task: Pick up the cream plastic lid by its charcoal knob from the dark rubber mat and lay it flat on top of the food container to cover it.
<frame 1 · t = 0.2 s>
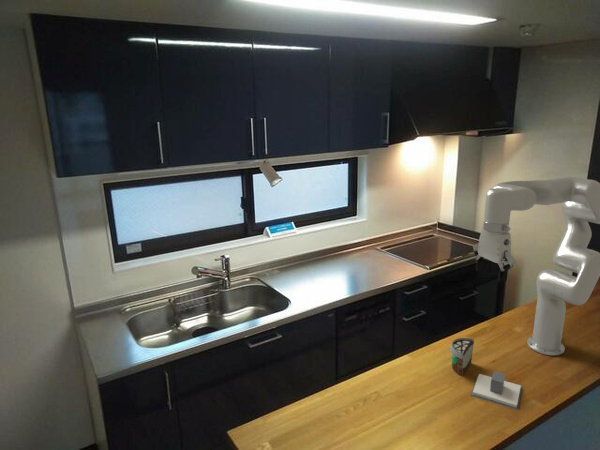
hand: (490, 275, 142), 37 cm above the counter, tool pointing down, fingers open, 9 cm apart
lid: (496, 391, 140), point 1 cm above the counter, touching mat
food container: (458, 368, 154), on the counter
mat: (496, 392, 140), on the counter
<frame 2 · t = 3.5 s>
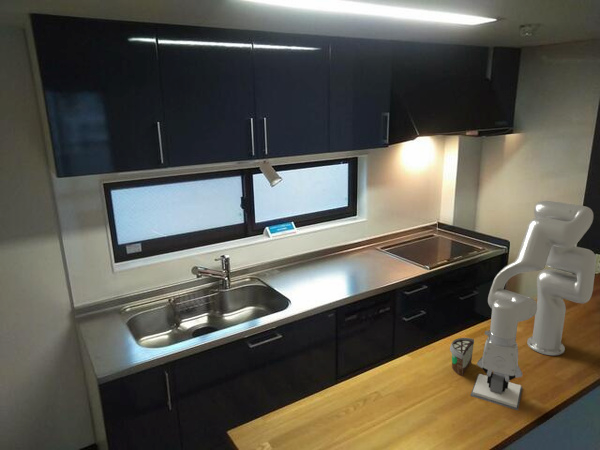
hand: (497, 386, 139), 2 cm above the counter, tool pointing down, fingers closed on lid, 3 cm apart
lid: (496, 391, 140), point 1 cm above the counter, touching gripper, mat
everything else where it was.
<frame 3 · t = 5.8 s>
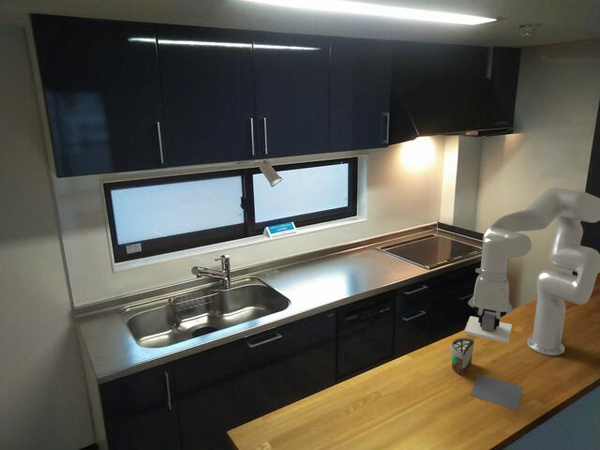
hand: (488, 325, 139), 22 cm above the counter, tool pointing down, fingers closed on lid, 3 cm apart
lid: (488, 330, 139), point 21 cm above the counter, touching gripper
everything else where it was.
when the fingers open (13 cm above the counter, at t = 8.4 s): lid drops 2 cm, resting on food container.
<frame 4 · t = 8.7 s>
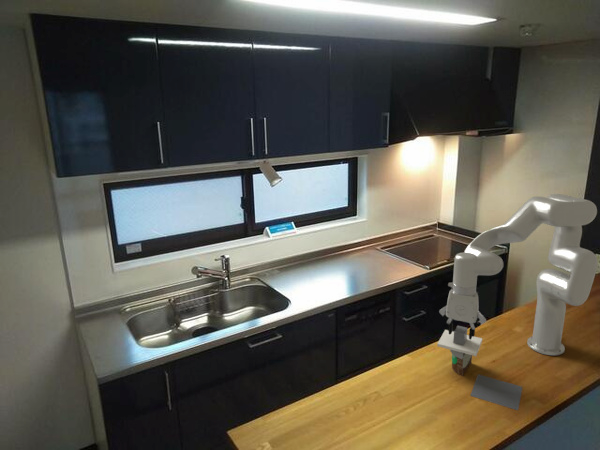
hand: (460, 334, 150), 14 cm above the counter, tool pointing down, fingers open, 6 cm apart
lid: (459, 343, 151), point 10 cm above the counter, touching food container
food container: (458, 368, 154), on the counter, touching lid
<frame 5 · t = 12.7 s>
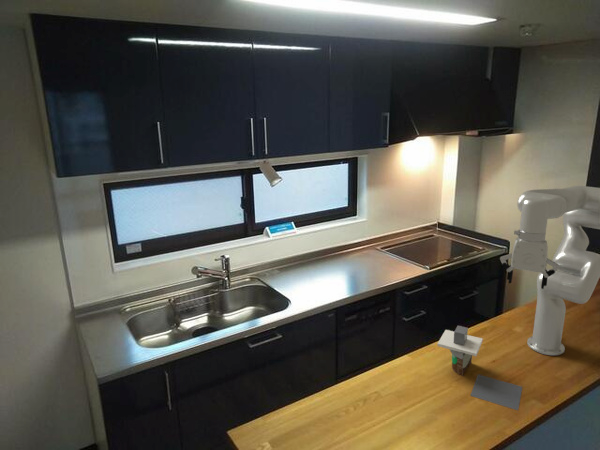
hand: (526, 284, 142), 33 cm above the counter, tool pointing down, fingers open, 9 cm apart
nothing on the counter moved.
at the end: lid 0.0 cm off-centre on the food container, point 10.2 cm above the food container's base; lid tilted 0°; the gripper is holding nothing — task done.
